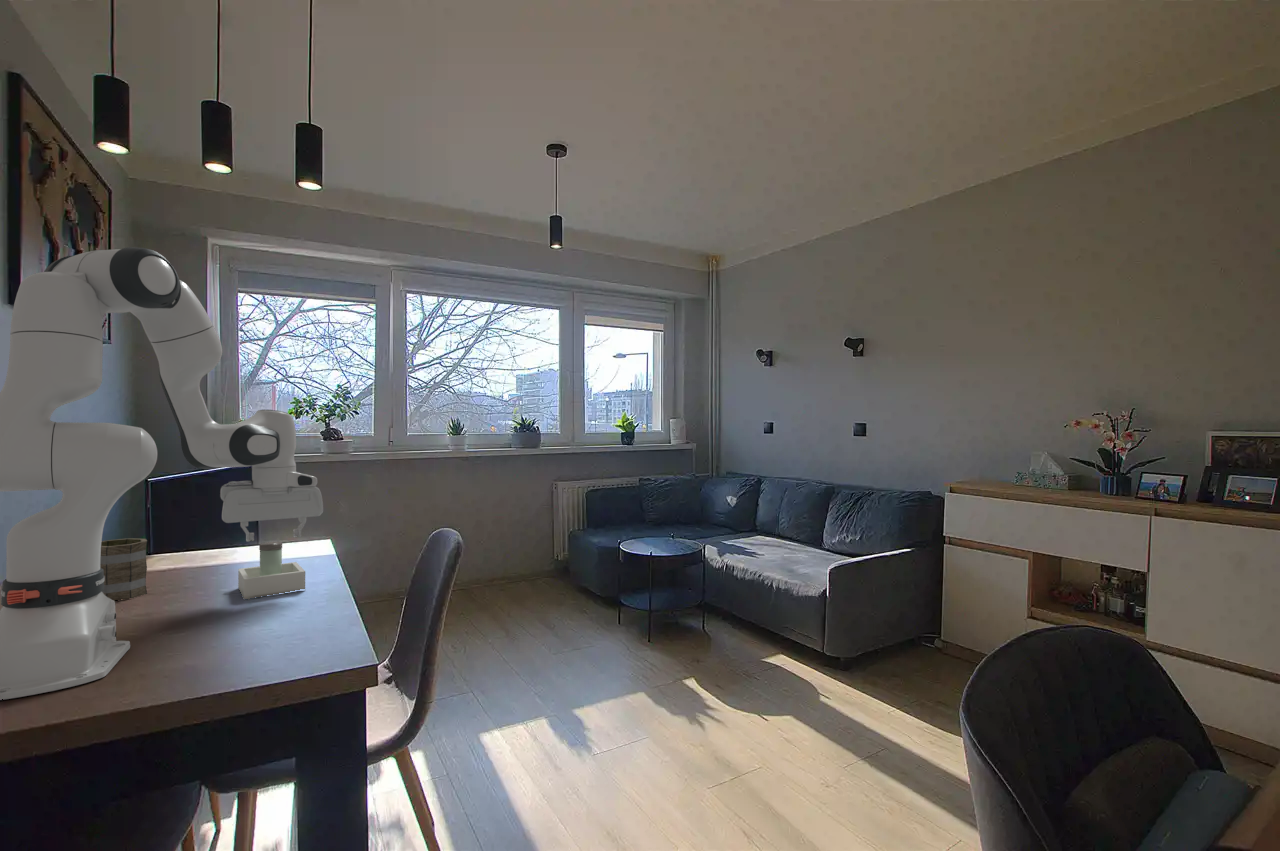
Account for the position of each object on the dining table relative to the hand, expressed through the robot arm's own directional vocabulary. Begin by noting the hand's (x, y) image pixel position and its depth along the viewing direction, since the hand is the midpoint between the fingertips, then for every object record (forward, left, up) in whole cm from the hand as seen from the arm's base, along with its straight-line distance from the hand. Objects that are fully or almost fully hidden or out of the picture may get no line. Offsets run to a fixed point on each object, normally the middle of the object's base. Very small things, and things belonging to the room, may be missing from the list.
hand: (274, 538), depth 141 cm
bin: (+1, 0, -12) cm, 12 cm away
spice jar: (+1, 0, -11) cm, 12 cm away
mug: (+18, +29, -12) cm, 37 cm away
